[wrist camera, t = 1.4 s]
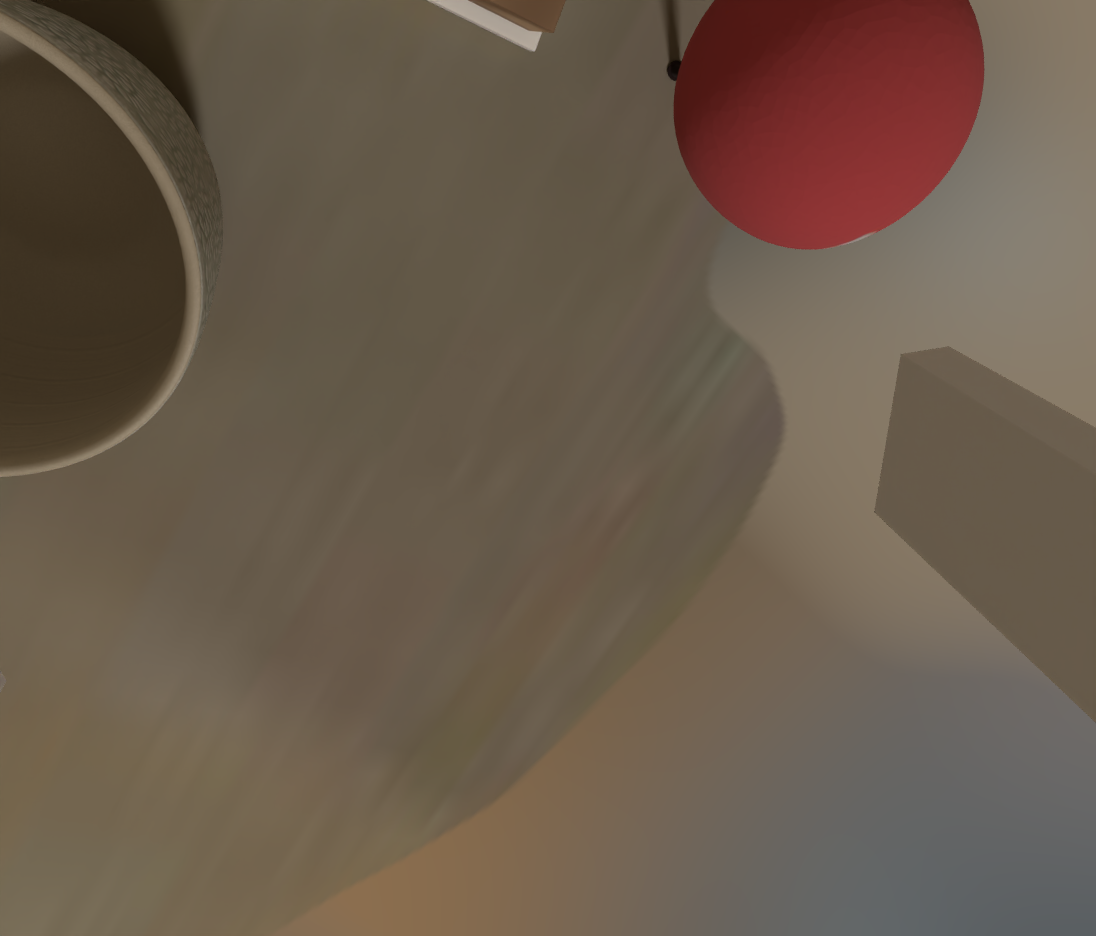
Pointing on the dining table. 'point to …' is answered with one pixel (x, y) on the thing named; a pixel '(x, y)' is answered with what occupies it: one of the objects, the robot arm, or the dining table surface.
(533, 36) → the board
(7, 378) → the planter
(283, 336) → the dining table surface
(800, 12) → the lollipop
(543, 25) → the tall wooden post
